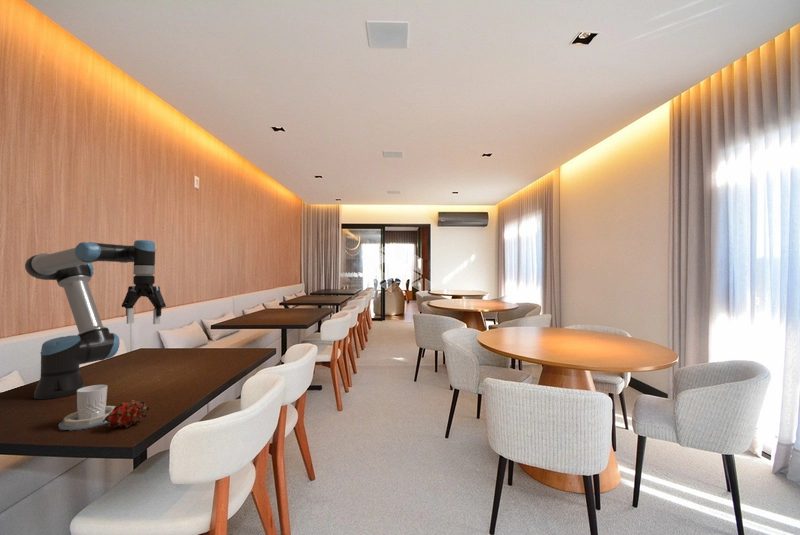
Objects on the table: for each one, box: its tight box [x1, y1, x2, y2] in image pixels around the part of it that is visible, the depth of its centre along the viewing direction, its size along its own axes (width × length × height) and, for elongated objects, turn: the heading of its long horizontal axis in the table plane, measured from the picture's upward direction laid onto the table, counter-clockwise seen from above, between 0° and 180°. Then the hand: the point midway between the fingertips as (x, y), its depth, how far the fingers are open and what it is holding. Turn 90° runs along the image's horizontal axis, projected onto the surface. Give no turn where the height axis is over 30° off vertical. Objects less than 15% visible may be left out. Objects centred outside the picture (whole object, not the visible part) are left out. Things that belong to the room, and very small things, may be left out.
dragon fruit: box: [103, 399, 150, 428], centre depth 113 cm, size 8×8×12 cm
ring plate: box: [58, 405, 117, 432], centre depth 117 cm, size 16×16×2 cm
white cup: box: [76, 384, 108, 420], centre depth 117 cm, size 8×8×10 cm
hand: (143, 323), depth 150 cm, fingers open, 13 cm apart
